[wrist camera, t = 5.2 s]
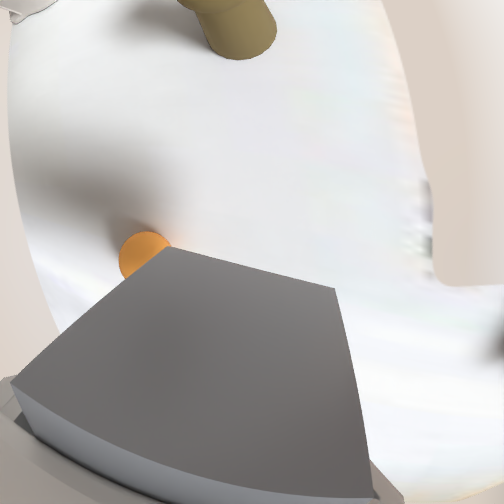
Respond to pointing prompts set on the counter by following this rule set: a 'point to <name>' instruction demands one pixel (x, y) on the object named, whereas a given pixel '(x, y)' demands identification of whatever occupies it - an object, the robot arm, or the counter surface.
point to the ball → (140, 251)
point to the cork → (235, 26)
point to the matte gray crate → (206, 388)
